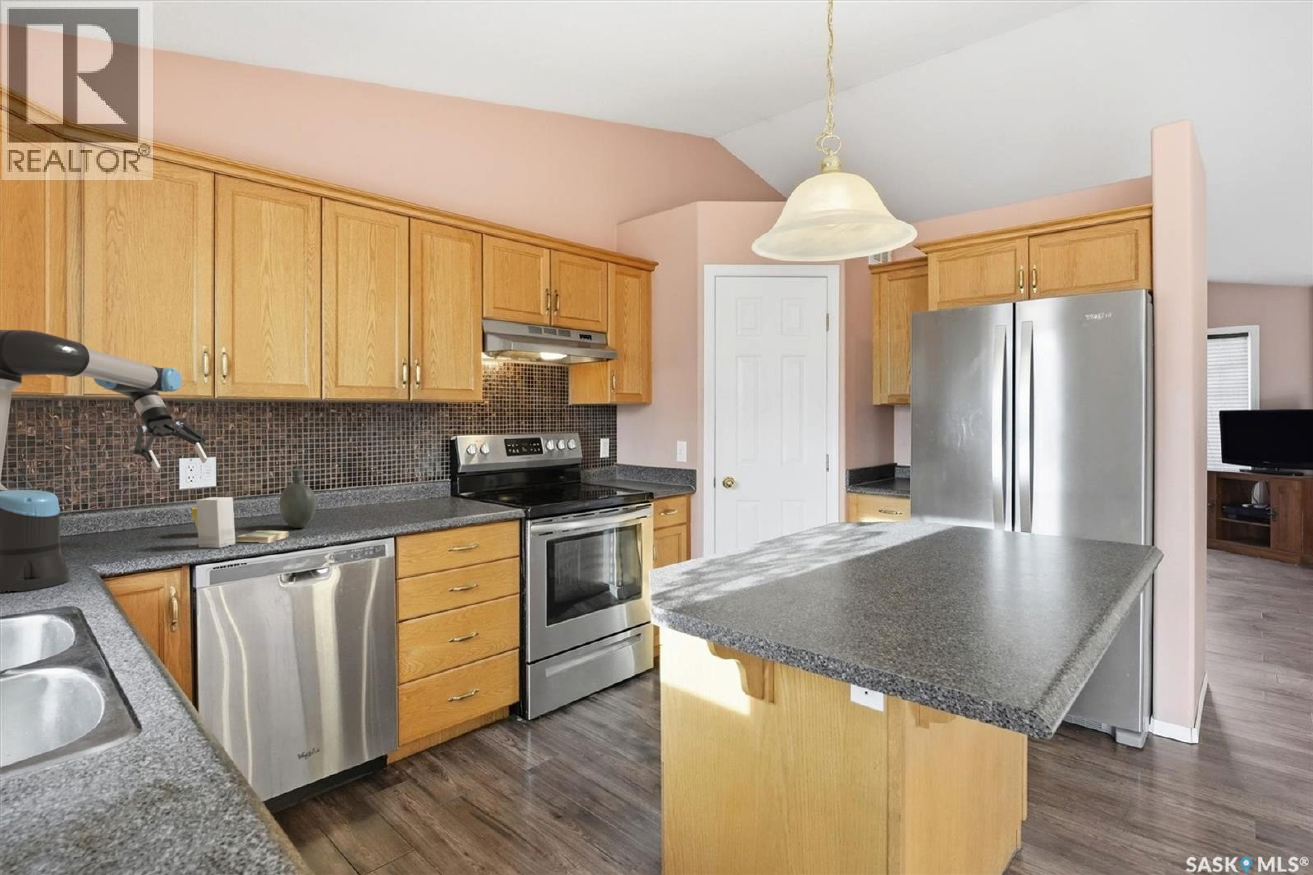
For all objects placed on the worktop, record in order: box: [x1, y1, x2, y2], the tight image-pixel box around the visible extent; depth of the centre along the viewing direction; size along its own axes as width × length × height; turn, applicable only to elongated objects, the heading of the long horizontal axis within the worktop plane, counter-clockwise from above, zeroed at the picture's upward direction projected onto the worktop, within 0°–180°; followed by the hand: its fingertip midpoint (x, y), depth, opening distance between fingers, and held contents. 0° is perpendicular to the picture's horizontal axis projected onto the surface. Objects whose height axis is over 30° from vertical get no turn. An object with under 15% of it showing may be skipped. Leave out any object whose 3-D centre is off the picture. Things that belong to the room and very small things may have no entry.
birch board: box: [235, 530, 290, 544], centre depth 221 cm, size 11×11×2 cm
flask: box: [278, 468, 317, 529], centre depth 244 cm, size 12×17×22 cm
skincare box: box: [195, 496, 236, 549], centre depth 210 cm, size 8×7×16 cm
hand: (182, 465), depth 212 cm, fingers open, 13 cm apart
